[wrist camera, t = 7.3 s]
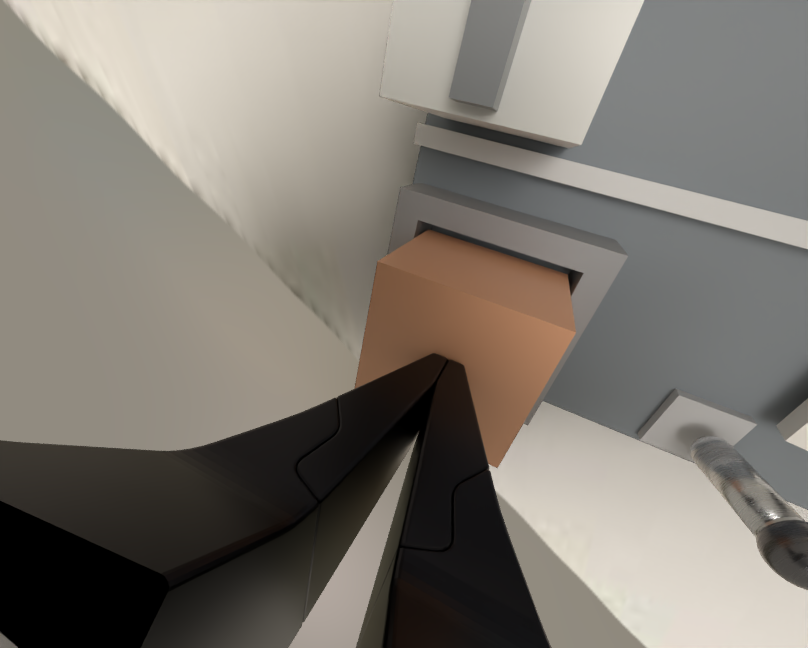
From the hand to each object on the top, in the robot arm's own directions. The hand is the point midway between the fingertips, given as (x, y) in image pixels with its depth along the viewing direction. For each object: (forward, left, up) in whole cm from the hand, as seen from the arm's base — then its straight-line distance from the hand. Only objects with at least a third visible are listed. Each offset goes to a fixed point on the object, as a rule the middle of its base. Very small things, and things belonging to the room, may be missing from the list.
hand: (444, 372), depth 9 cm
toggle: (-9, +2, -5) cm, 10 cm away
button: (0, 0, -4) cm, 4 cm away
